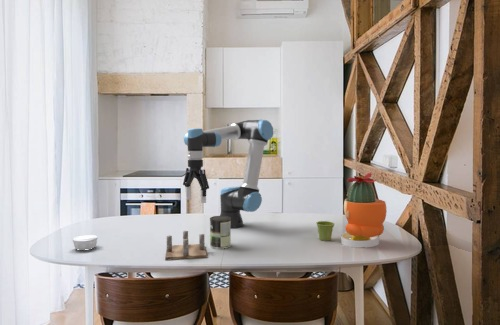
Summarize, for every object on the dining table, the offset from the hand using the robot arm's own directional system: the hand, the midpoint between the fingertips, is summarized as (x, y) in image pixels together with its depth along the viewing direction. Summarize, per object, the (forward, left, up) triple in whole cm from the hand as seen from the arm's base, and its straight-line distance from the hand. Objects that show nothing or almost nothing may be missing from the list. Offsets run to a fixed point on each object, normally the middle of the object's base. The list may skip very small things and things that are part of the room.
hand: (195, 201), depth 197 cm
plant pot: (-67, +6, -22) cm, 70 cm away
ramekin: (+53, 0, -22) cm, 58 cm away
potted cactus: (-84, +16, -22) cm, 88 cm away
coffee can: (-12, +8, -22) cm, 26 cm away
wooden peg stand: (+5, +16, -21) cm, 27 cm away
